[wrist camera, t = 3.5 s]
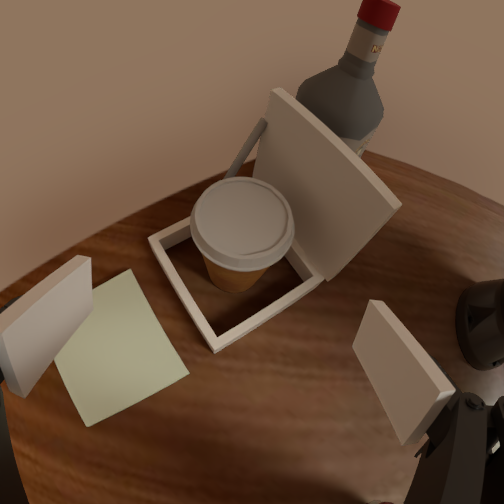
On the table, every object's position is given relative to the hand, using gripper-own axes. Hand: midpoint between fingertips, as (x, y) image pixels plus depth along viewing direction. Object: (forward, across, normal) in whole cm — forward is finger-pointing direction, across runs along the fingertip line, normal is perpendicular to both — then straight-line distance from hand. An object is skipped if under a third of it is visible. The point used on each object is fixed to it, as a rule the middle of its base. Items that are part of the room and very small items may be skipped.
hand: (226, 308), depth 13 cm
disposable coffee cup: (+22, +1, -7) cm, 24 cm away
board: (+14, -12, -16) cm, 24 cm away
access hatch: (+22, +1, -7) cm, 23 cm away
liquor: (+33, +10, +4) cm, 35 cm away
